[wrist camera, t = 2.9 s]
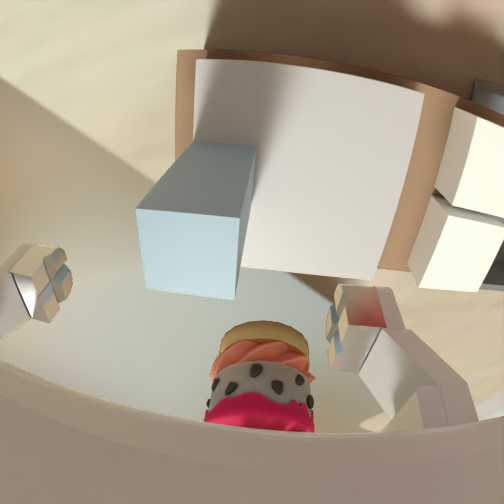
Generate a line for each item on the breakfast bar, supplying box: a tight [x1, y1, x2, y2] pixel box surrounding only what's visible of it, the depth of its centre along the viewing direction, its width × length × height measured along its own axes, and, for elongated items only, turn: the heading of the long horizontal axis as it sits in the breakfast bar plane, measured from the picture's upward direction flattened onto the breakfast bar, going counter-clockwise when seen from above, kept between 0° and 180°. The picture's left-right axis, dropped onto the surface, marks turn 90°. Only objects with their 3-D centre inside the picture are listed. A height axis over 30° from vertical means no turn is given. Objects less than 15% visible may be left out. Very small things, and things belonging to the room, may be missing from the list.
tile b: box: [407, 195, 504, 292], centre depth 17 cm, size 5×5×2 cm
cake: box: [204, 321, 315, 433], centre depth 29 cm, size 10×10×15 cm
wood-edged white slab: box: [175, 50, 504, 272], centre depth 19 cm, size 20×12×6 cm, turn 85°
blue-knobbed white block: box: [136, 59, 425, 300], centre depth 13 cm, size 10×11×9 cm
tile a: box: [434, 107, 504, 218], centre depth 14 cm, size 5×5×2 cm
